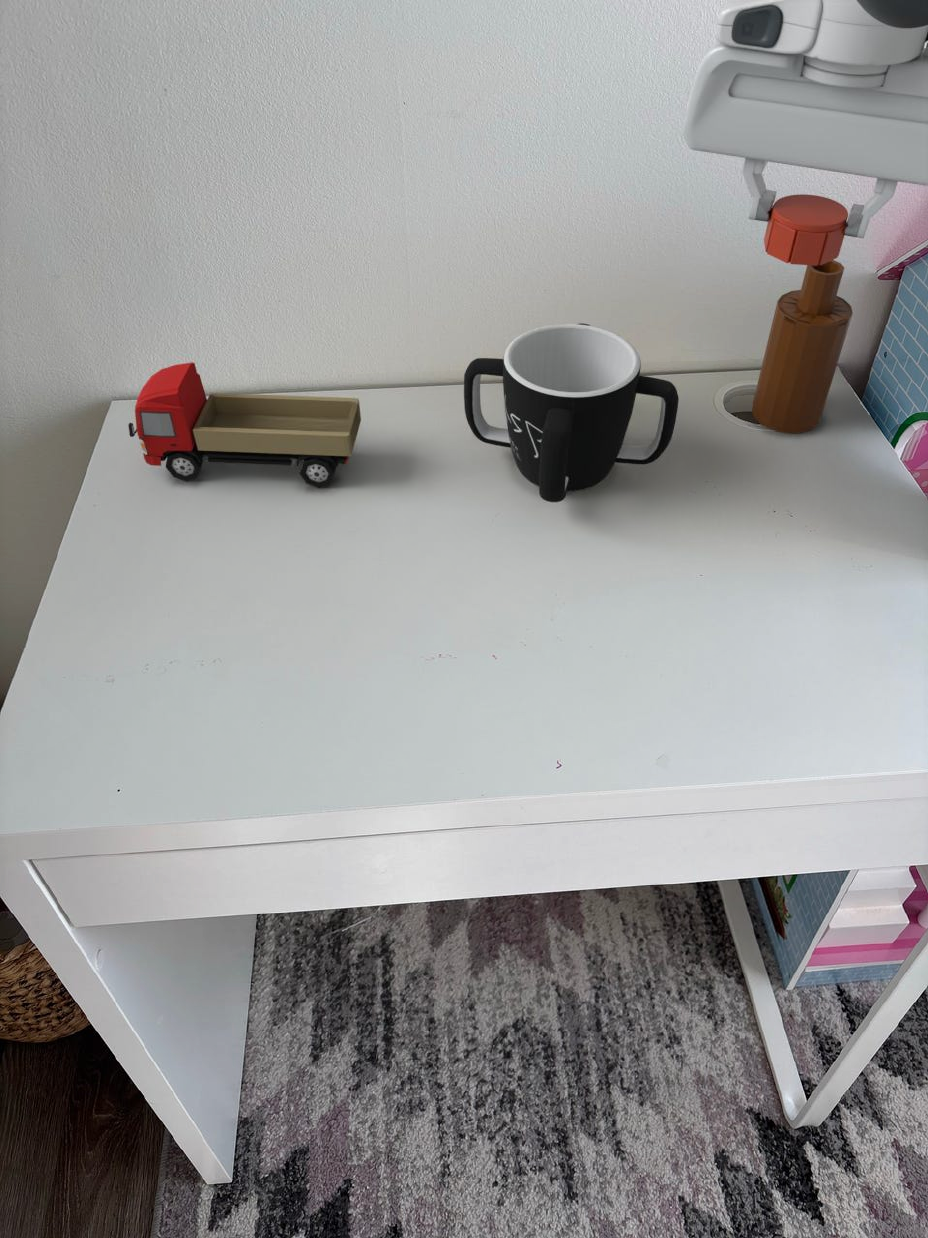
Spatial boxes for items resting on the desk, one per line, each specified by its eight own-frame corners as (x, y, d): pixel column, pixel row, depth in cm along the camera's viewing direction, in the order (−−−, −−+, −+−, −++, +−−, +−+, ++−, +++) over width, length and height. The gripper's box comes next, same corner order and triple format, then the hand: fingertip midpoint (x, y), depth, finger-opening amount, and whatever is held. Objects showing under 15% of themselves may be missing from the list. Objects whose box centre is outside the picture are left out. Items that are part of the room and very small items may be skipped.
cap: (852, 251, 73) (863, 212, 71) (805, 272, 71) (815, 232, 69) (796, 226, 76) (805, 187, 74) (749, 245, 74) (758, 206, 72)
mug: (453, 442, 97) (451, 334, 88) (592, 402, 101) (602, 296, 93) (529, 540, 86) (535, 428, 78) (679, 490, 91) (700, 380, 82)
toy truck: (163, 442, 97) (138, 354, 90) (364, 450, 96) (355, 361, 89) (142, 484, 93) (114, 395, 85) (354, 493, 91) (343, 403, 84)
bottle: (833, 417, 99) (880, 269, 87) (788, 441, 96) (831, 291, 85) (782, 388, 103) (820, 242, 91) (738, 410, 100) (771, 262, 88)
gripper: (1035, 19, 61) (955, 232, 71) (717, -14, 67) (685, 187, 77) (1032, 49, 57) (948, 269, 67) (694, 11, 63) (664, 219, 73)
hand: (805, 225), depth 72 cm, fingers closed on cap, 5 cm apart
